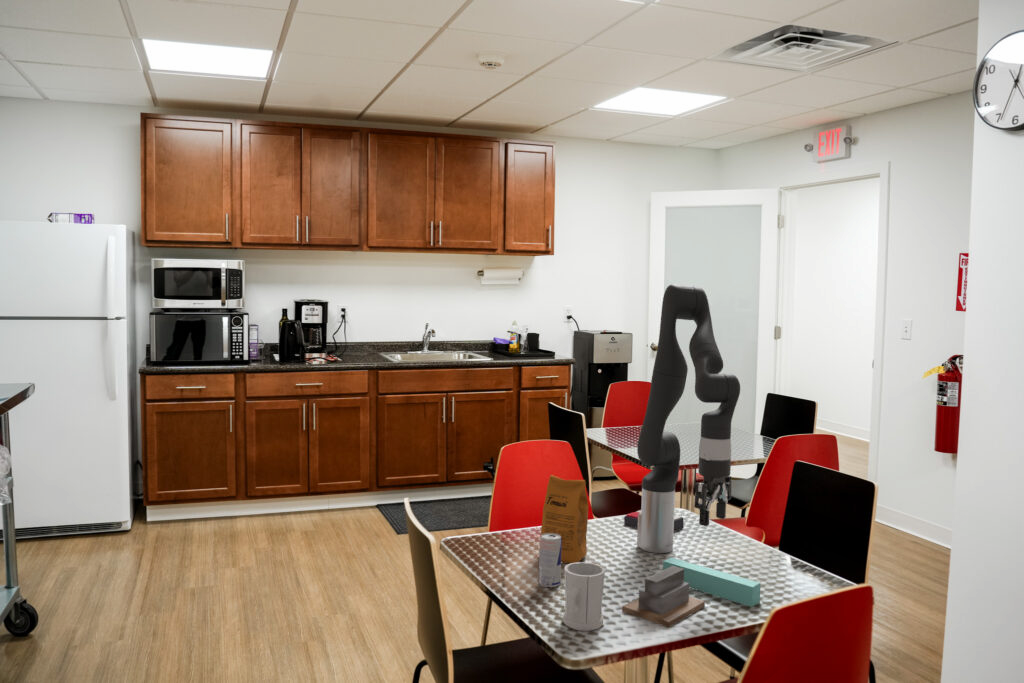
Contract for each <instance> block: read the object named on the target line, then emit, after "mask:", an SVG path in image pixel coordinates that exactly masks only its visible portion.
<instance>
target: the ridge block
mask: <svg viewBox="0 0 1024 683" xmlns="http://www.w3.org/2000/svg"><path fill="white" fill-rule="evenodd" d="M705 604H706V602H705V601H704V600H701V599H698V598H696V597H692V596H690V588H689V583H687V582H684V569H683V568H679V567H676V566H671V567H669V568H667V569H665V570H663V569H662V570H661V571H660V570H659V571H658V572H657V573H654V574H652V575H650V576H648V577H645V579H644V587H642V588H640V589H638V598H636V599H633V600H632V601H630V602H627V603H626V604H624V605H622V606H621V607H622V608H621V609H622V610H621V611H622V612H623V613H626V614H629V615H632V616H634V617H638V618H641V619H643V620H646V621H648V622H649V621H650V622H653V623H654V624H655V623H656V624H658V625H660V626H664V627H667V628H670V627H672V626H673V625H675V624H677V623H678V622H681V621H682V620H684V619H686V618H687V617H689V616H691V615H693V614H695V613H696V612H698V611H699V610H701V609H703V608H704V607H705ZM692 613H693V614H692ZM690 614H691V615H690ZM680 620H681V621H680Z"/></svg>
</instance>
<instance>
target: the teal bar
mask: <svg viewBox="0 0 1024 683" xmlns="http://www.w3.org/2000/svg"><path fill="white" fill-rule="evenodd" d="M662 563H663V564H662V571H663V570H665V569H667V568H669V567H671V566H676V567H679V568H683V569H684V582H687V583H689V587H691V588H690V589H692V588H694V589H693V590H695V589H697V590H696V591H698V590H700V591H699V592H702V591H703V592H702V593H705V592H706V593H705V594H708V593H709V595H711V594H712V596H715V597H718V596H719V598H721V597H722V598H721V599H725V600H729V601H731V602H735V603H737V604H741V605H745V606H748V607H751V608H753V607H754V606H756V605H758V604H759V603H760V602H761V582H758V581H755V580H752V579H748V578H745V577H742V576H738V575H735V574H732V573H727V572H725V571H722V570H717V569H714V568H709V567H708V566H703V565H699V564H696V563H693V562H689V561H686V560H682V559H679V558H675V557H670V558H667V559H665V560H663V561H662Z"/></svg>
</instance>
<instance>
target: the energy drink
mask: <svg viewBox="0 0 1024 683" xmlns="http://www.w3.org/2000/svg"><path fill="white" fill-rule="evenodd" d="M561 550H562V539H561V536H560V535H558V534H554V533H546V534H542V535H541V534H540V538H539V557H538V558H539V559H538V560H539V562H538V563H539V565H538V566H539V567H538V583H539V585H540V586H541V587H543V586H544V587H543V588H547V587H550V588H549V589H553V588H552V587H555V588H558V587H559V586H560V585H561V583H562V582H561V581H562V577H561V576H562V575H561V574H562V572H561V571H562V563H561ZM557 586H558V587H557Z"/></svg>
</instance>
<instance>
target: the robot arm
mask: <svg viewBox="0 0 1024 683" xmlns="http://www.w3.org/2000/svg"><path fill="white" fill-rule="evenodd" d="M710 310H711V309H710V304H709V300H708V296H707V294H706V292H705V289H703V288H702V287H699V286H694V285H693V286H691V285H683V284H669V285H668V286H667V287H666V288H665V291H664V294H663V298H662V304H661V313H660V326H659V334H658V343H657V349H656V354H655V360H654V364H653V369H652V370H653V371H652V376H651V382H650V388H649V389H650V390H649V395H648V399H647V404H646V410H645V413H644V418H643V422H642V426H641V428H640V433H639V437H638V440H637V449H636V450H637V451H636V452H637V457H638V459H639V462H640V463H641V465H644V466H647V467H653V468H652V470H651V471H650V472H648V473H647V474H646V475H644V476H643V478H642V480H641V508H640V510H641V513H639V514H638V528H637V530H636V531H637V536H636V537H637V538H636V547H638V548H640V549H641V550H643V551H646V552H647V553H648V552H649V553H652V554H667V553H671V552H672V551H673V550H674V548H673V547H674V533H675V532H674V515H675V506H676V505H675V502H676V501H675V499H676V497H675V496H676V484H677V483H678V479H679V474H680V463H681V462H680V461H681V444H680V441H679V438H678V437H677V435H676V434H674V433H673V432H671V431H665V425H666V423H667V420H668V418H669V416H670V414H671V413H672V411H673V410H674V409H675V407H676V405H677V404H678V402H679V401H680V400H681V398H682V396H683V394H684V391H685V388H686V381H687V376H688V370H689V368H688V364H687V361H686V357H685V356H684V353H683V351H682V349H681V347H680V344H679V341H678V339H677V338H678V337H677V327H676V326H677V320H685V321H693V322H694V323H695V325H696V327H695V330H694V332H693V334H692V335H691V337H690V341H689V345H688V351H689V355H690V358H691V361H692V364H693V367H694V372H695V373H694V375H695V379H694V381H695V383H694V393H695V396H696V398H697V399H698V400H699V401H700V402H702V403H705V404H706V403H708V404H710V403H711V404H714V403H715V404H719V406H718V407H717V409H715V410H713V411H712V410H711V411H709V412H705V413H703V414H702V415H701V421H700V422H701V424H700V440H699V447H698V469H697V470H698V474H699V475H700V476H702V477H703V480H702V483H700V482H696V483H695V487H694V488H695V491H694V492H695V493H694V506H693V507H694V508H695V509H697V510H698V511H699V522H698V523H699V525H700V526H703V527H708V526H709V525H710V508H711V506H712V504H713V503H714V502H715V501H716V506H715V516H716V518H717V519H721V520H724V519H726V514H727V504H728V501H729V500H731V499H732V476H731V470H732V466H731V465H732V464H731V463H732V440H731V437H732V435H731V434H732V421H733V416H734V413H735V410H736V406H737V403H738V400H739V397H740V394H741V383H740V381H739V378H738V377H737V376H736V375H735V374H732V373H721V372H722V371H723V368H724V360H723V358H722V354H721V353H720V350H719V346H718V344H717V341H716V339H715V334H714V328H713V322H712V316H711V311H710Z"/></svg>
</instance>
